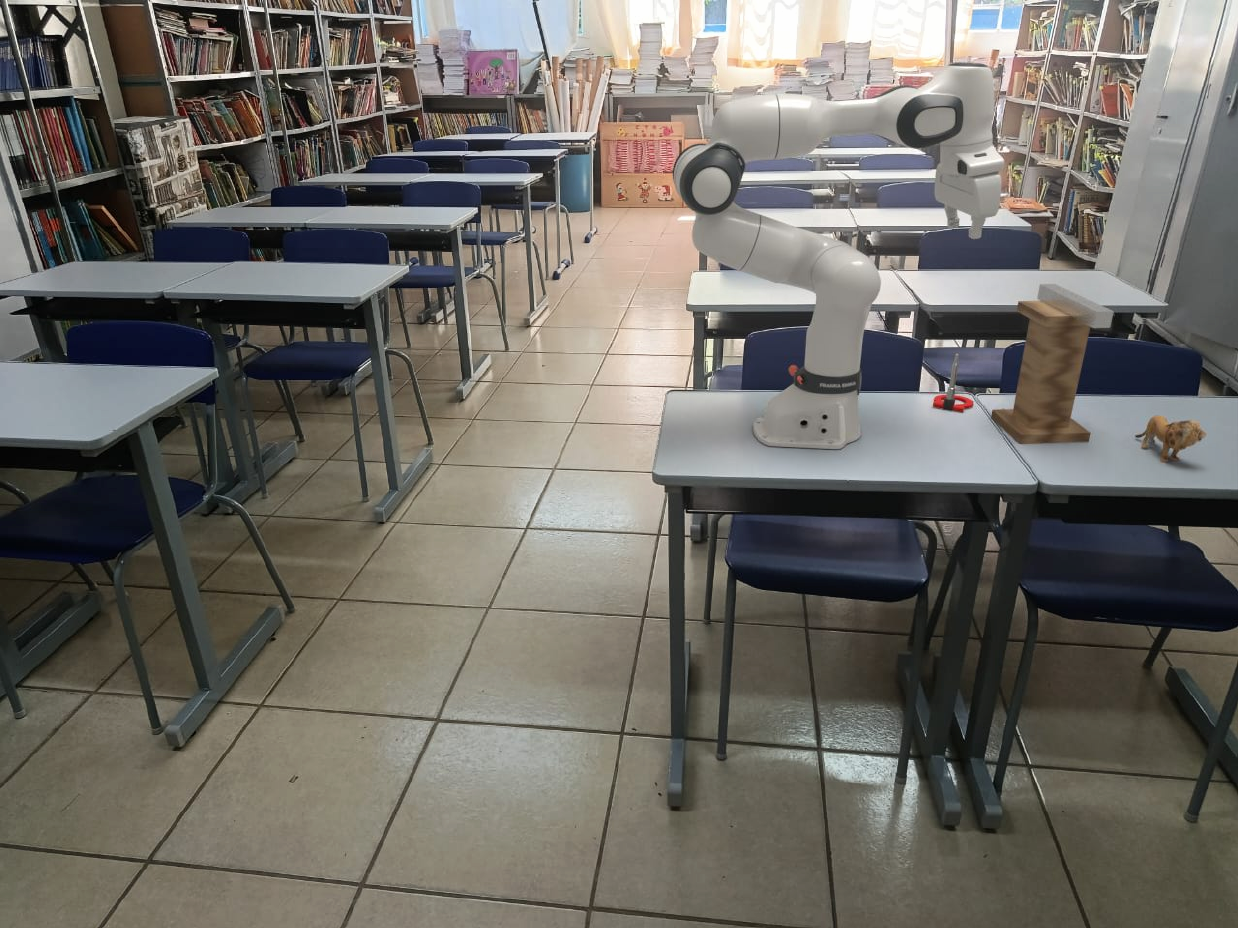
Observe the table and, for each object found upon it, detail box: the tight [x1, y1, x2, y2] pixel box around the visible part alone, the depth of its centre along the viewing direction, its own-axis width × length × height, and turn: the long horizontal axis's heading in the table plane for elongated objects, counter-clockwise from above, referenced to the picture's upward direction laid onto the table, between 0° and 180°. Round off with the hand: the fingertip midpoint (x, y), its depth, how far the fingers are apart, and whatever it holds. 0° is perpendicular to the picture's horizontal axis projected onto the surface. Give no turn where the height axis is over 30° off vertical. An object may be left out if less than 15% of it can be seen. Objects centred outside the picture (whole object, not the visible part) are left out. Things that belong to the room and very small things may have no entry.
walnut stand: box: [990, 300, 1091, 445], centre depth 169 cm, size 14×14×26 cm
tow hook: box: [932, 353, 974, 413], centre depth 186 cm, size 8×13×9 cm
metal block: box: [1036, 283, 1115, 329], centre depth 159 cm, size 3×22×3 cm, turn 0°
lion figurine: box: [1134, 414, 1207, 463], centre depth 160 cm, size 15×5×9 cm, turn 8°
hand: (963, 232), depth 159 cm, fingers open, 8 cm apart
